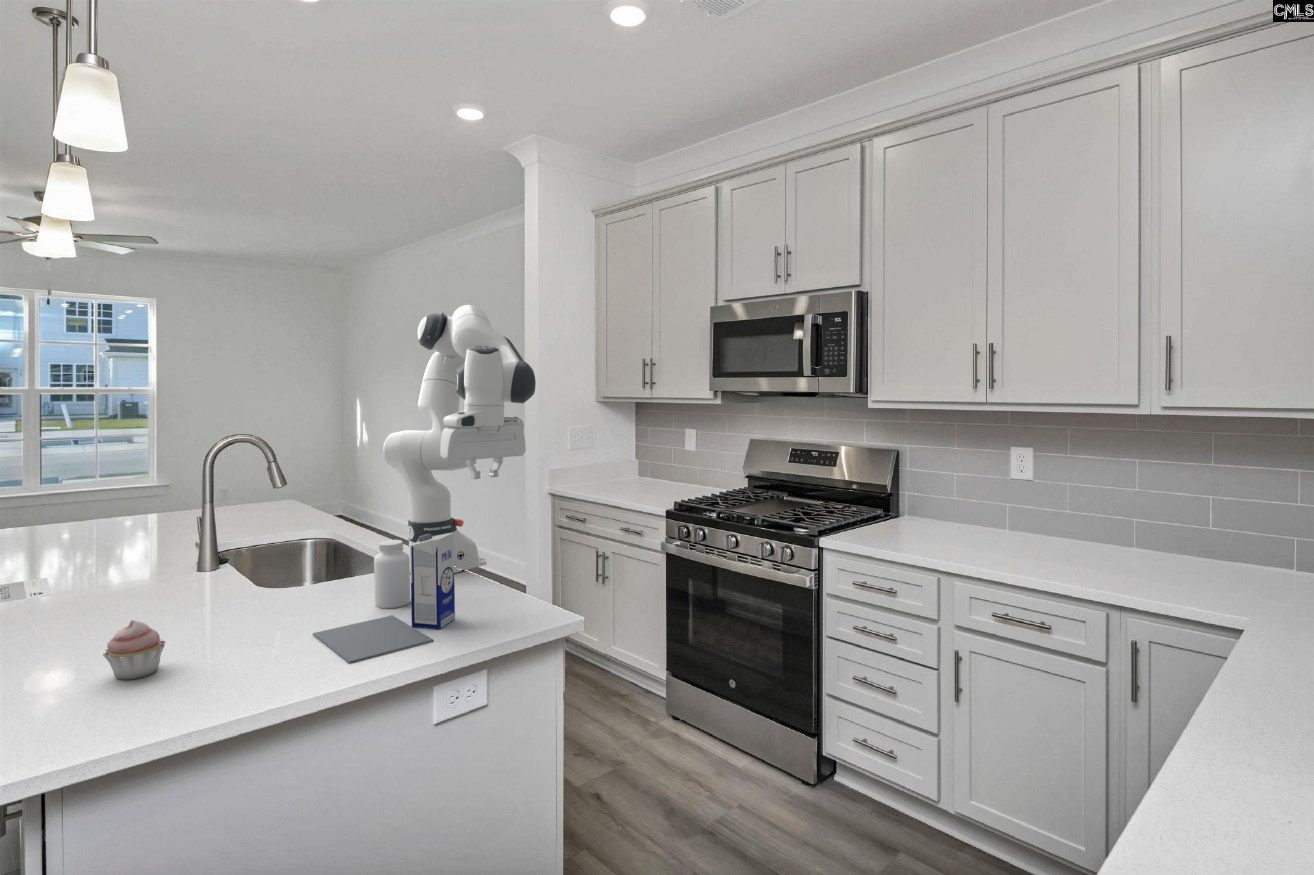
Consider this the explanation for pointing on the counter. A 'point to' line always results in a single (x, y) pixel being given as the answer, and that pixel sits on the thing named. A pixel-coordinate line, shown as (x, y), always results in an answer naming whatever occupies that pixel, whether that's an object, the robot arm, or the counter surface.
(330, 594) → the counter surface
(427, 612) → the milk carton
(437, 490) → the robot arm
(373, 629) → the mat
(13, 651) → the counter surface
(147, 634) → the cupcake
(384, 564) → the pill bottle
